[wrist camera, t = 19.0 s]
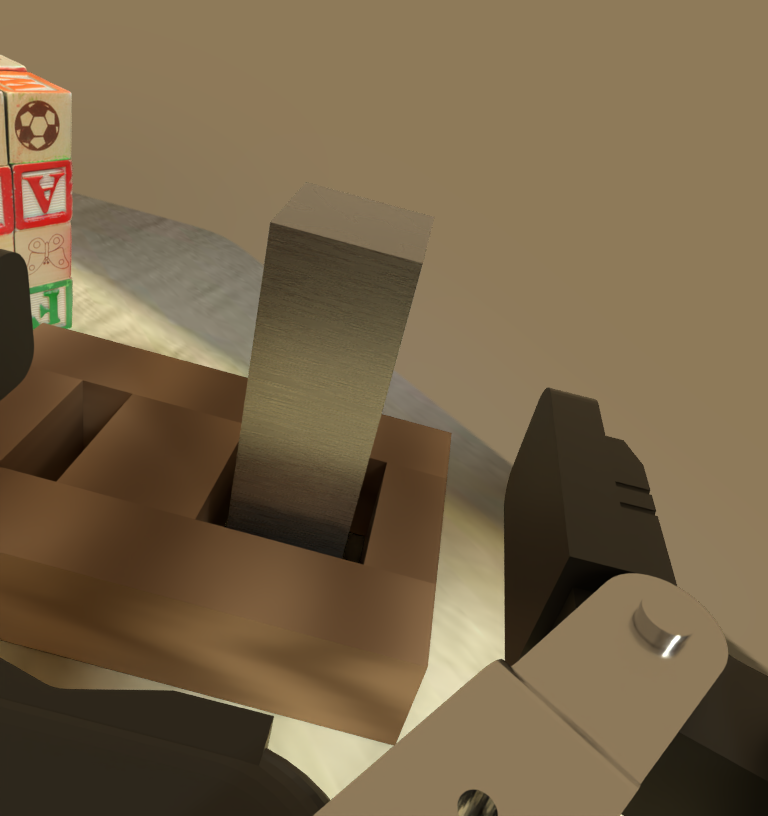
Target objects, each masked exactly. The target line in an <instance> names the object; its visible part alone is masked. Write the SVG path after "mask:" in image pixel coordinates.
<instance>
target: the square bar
mask: <svg viewBox="0 0 768 816" xmlns="http://www.w3.org/2000/svg"><path fill="white" fill-rule="evenodd" d="M433 220H434V217H432V216H428V215H425V214H421V213H417V212H414V211H410V210H406V209H403V208H399V207H395V206H392V205H388V204H384V203H381V202H377V201H374V200H369V199H366V198H362V197H359V196H355V195H351V194H348V193H344V192H340V191H337V190H333V189H329V188H326V187H322V186H318V185H315V184H311V183H307V182H306V183H305V184H304V185H303V186H302V187H301V188H300V190H299V191H298V192H297V193H296V194H295V195H294V196H293V197H292V198H291V200H290V201H289V202H288V203H287V204H286V205H285V206H284V208H283V209H282V210H281V211H280V212H279V213H278V214H277V215H276V216H275V217H274V219H273V220H272V221H271V222H270V228H269V235H268V242H267V249H266V256H265V263H264V270H263V277H262V284H261V291H260V298H259V305H258V312H257V319H256V326H255V333H254V340H253V347H252V354H251V361H250V368H249V375H248V382H247V389H246V396H245V403H244V410H243V417H242V424H241V431H240V438H239V445H238V452H237V459H236V466H235V473H234V480H233V487H232V494H231V501H230V508H229V515H228V522H227V528H229V529H233V530H237V531H240V532H244V533H248V534H251V535H255V536H259V537H263V538H266V539H270V540H274V541H277V542H281V543H285V544H289V545H292V546H296V547H300V548H303V549H307V550H311V551H314V552H318V553H322V554H326V555H329V556H333V557H337V558H340V559H342V556H343V552H344V549H345V545H346V541H347V538H348V534H349V531H350V527H351V523H352V520H353V516H354V512H355V509H356V505H357V501H358V498H359V494H360V490H361V487H362V483H363V479H364V476H365V472H366V469H367V465H368V461H369V458H370V454H371V450H372V447H373V443H374V439H375V436H376V432H377V428H378V425H379V421H380V418H381V414H382V410H383V407H384V403H385V399H386V396H387V392H388V388H389V385H390V381H391V377H392V374H393V370H394V366H395V363H396V359H397V355H398V352H399V348H400V345H401V341H402V337H403V334H404V330H405V326H406V323H407V319H408V315H409V312H410V308H411V304H412V301H413V297H414V293H415V290H416V286H417V282H418V279H419V275H420V272H421V268H422V264H423V260H424V256H425V252H426V248H427V244H428V240H429V236H430V232H431V228H432V224H433Z"/></svg>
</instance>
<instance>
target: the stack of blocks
mask: <svg viewBox="0 0 768 816" xmlns="http://www.w3.org/2000/svg"><path fill="white" fill-rule="evenodd" d="M71 113H72V96H71V92H70V91H68V90H65V89H63V88H61V87H59V86H57V85H55V84H53V83H51V82H48V81H46V80H44V79H43V78H40V77H38V76H36V75H34V74H32V73H29V72H27V70H26V68H25V66H23V65H21V64H19V63H17V62H15V61H12V60H10V59H8V58H6V57H4V56H2V55H0V249H4V250H8V251H12V252H16V253H18V254H20V255H21V256H22V257H23V259H24V260H25V262H26V265H27V268H28V276H29V288H30V300H31V312H32V324H33V330H34V329H35V328H36V327H38V326H39V325H40V324H42V323H46V324H50V325H54V326H57V327H61V328H65V329H68V328H71V327H72V302H73V291H72V285H73V281H72V278H71V277H70V275H71V223H70V221H71V219H72V213H73V210H72V203H73V199H72V185H73V182H72V161H71V129H72V128H71V127H72V126H71V124H72V122H71V121H72V118H71V117H72V114H71Z"/></svg>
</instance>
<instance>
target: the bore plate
mask: <svg viewBox="0 0 768 816" xmlns="http://www.w3.org/2000/svg"><path fill="white" fill-rule="evenodd" d="M33 336H34V355H33V360H32V363H31V366H30V369H29V371H28V373H27V375H26V376H25V378H24V379H23V381H22V382H21V383H20V384H19V385H18V386H17V387H16V388H15V389H13V390H12V391H11V392H10V393H9V394H8V395H7V396H5V397H4V398H3V399H2V400H1V401H0V640H3V641H7V642H11V643H14V644H18V645H22V646H26V647H29V648H33V649H37V650H41V651H44V652H48V653H52V654H55V655H59V656H63V657H67V658H70V659H74V660H78V661H82V662H85V663H89V664H93V665H96V666H100V667H104V668H108V669H111V670H115V671H119V672H123V673H126V674H130V675H134V676H137V677H141V678H145V679H149V680H152V681H156V682H160V683H164V684H167V685H171V686H175V687H178V688H182V689H186V690H190V691H193V692H197V693H201V694H205V695H208V696H212V697H216V698H220V699H223V700H227V701H231V702H234V703H238V704H242V705H246V706H249V707H253V708H257V709H261V710H264V711H268V712H272V713H275V714H279V715H283V716H287V717H290V718H294V719H298V720H302V721H305V722H309V723H313V724H316V725H320V726H324V727H328V728H331V729H335V730H339V731H343V732H346V733H350V734H354V735H357V736H361V737H365V738H369V739H372V740H376V741H380V742H384V743H387V744H391V745H395V744H396V742H397V739H398V737H399V735H400V732H401V730H402V727H403V725H404V723H405V720H406V718H407V715H408V713H409V711H410V708H411V706H412V703H413V701H414V699H415V696H416V694H417V691H418V689H419V687H420V684H421V682H422V679H423V677H424V675H425V672H426V670H427V667H428V658H429V649H430V639H431V629H432V619H433V609H434V600H435V590H436V580H437V570H438V560H439V551H440V541H441V531H442V521H443V511H444V502H445V492H446V482H447V472H448V462H449V453H450V443H451V433H449V432H446V431H442V430H438V429H434V428H431V427H427V426H423V425H420V424H416V423H412V422H409V421H405V420H401V419H397V418H394V417H390V416H386V415H383V414H381V418H380V421H379V425H378V428H377V432H376V436H375V439H374V443H373V447H372V450H371V454H370V458H369V461H368V465H367V469H366V472H365V476H364V479H363V483H362V487H361V490H360V494H359V498H358V501H357V505H356V509H355V512H354V516H353V520H352V523H351V527H350V531H349V532H352V533H356V534H359V535H363V536H366V537H365V541H364V545H363V549H362V554H361V558H360V562H359V563H355V562H352V561H348V560H344V559H340V558H337V557H333V556H329V555H326V554H322V553H318V552H314V551H311V550H307V549H303V548H300V547H296V546H292V545H289V544H285V543H281V542H277V541H274V540H270V539H266V538H263V537H259V536H255V535H251V534H248V533H244V532H240V531H237V530H233V529H229V528H225V527H224V525H225V523H226V521H227V519H228V515H229V508H230V501H231V494H232V487H233V480H234V473H235V466H236V459H237V452H238V445H239V438H240V431H241V424H242V417H243V410H244V403H245V396H246V389H247V382H248V378H246V377H242V376H238V375H235V374H231V373H227V372H224V371H220V370H216V369H213V368H209V367H205V366H202V365H198V364H194V363H190V362H187V361H183V360H179V359H176V358H172V357H168V356H165V355H161V354H157V353H153V352H150V351H146V350H142V349H139V348H135V347H131V346H128V345H124V344H120V343H116V342H113V341H109V340H105V339H102V338H98V337H94V336H91V335H87V334H83V333H80V332H76V331H72V330H68V329H65V328H61V327H57V326H54V325H50V324H46V323H42V324H40V325H39V326H38V327H36V328H35V329H34V330H33Z"/></svg>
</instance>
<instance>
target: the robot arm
mask: <svg viewBox="0 0 768 816" xmlns="http://www.w3.org/2000/svg"><path fill="white" fill-rule="evenodd" d="M33 355H34V336H33V324H32V312H31V300H30V288H29V276H28V268H27V265H26V262H25V260H24V259H23V257H22V256H21V255H20V254H18V253H16V252H12V251H8V250H4V249H0V401H1V400H2V399H3V398H4V397H5V396H7V395H8V394H9V393H10V392H11V391H12V390H13V389H15V388H16V387H17V386H18V385H19V384H20V383H21V382H22V381H23V379H24V378H25V376H26V375H27V373H28V371H29V369H30V366H31V363H32V360H33ZM649 492H650V488H649V484H648V481H647V477H646V474H645V470H644V466H643V464H642V463H641V462H640V461H639V459H638V458H637V457H636V455H634V453H633V452H632V451H631V449H630V448H629V447H628V445H627V444H626V443H625V442H624V440H619V439H616V438H612V437H608V436H605V432H604V427H603V423H602V419H601V414H600V409H599V405H598V402H597V400H595V399H592V398H588V397H583V396H580V395H575V394H572V393H568V392H563V391H560V390H555V389H552V388H546V389H545V390H544V392H543V393H542V395H541V397H540V399H539V401H538V404H537V406H536V409H535V412H534V414H533V417H532V419H531V422H530V424H529V427H528V430H527V432H526V434H525V437H524V439H523V442H522V444H521V447H520V450H519V452H518V455H517V457H516V460H515V462H514V465H513V467H512V470H511V473H510V477H509V480H508V484H507V489H506V495H505V502H504V575H505V661H504V660H503V659H499V660H496V661H494V662H492V663H491V664H489V665H488V666H486V667H485V668H484V669H483V670H481V671H480V672H479V673H478V674H477V675H476V676H474V677H473V678H472V679H471V680H470V681H469V682H467V683H466V684H465V685H464V686H463V687H462V688H460V689H459V690H458V691H457V692H456V693H455V694H454V695H452V696H451V697H450V698H449V699H448V700H447V701H445V702H444V703H443V704H442V705H441V706H440V707H438V708H437V709H436V710H435V711H434V712H433V713H431V714H430V715H429V716H428V717H427V718H426V719H425V720H423V721H422V722H421V723H420V724H419V725H418V726H416V727H415V728H414V729H413V730H412V731H411V732H409V733H408V734H407V735H406V736H405V737H404V738H402V739H401V740H400V741H399V742H398V743H397V744H396V745H394V746H393V747H392V748H391V749H390V750H389V751H387V752H386V753H385V754H384V755H383V756H382V757H380V758H379V759H378V760H377V761H376V762H375V763H373V764H372V765H371V766H370V767H369V768H368V769H367V770H365V771H364V772H363V773H362V774H361V775H360V776H358V777H357V778H356V779H355V780H354V781H353V782H351V783H350V784H349V785H348V786H347V787H346V788H344V789H343V790H342V791H341V792H340V793H339V794H338V795H336V796H335V797H334V798H333V799H332V800H330V799H329V798H328V796H327V795H326V794H325V793H324V792H323V791H322V790H321V789H320V788H319V787H318V786H317V785H316V784H315V783H314V782H313V781H312V780H311V779H310V778H309V777H308V776H307V775H306V774H304V773H303V772H302V771H301V770H299V769H298V768H297V767H295V766H294V765H293V764H291V763H290V762H289V761H287V760H286V759H284V758H283V757H281V756H279V755H278V754H276V753H274V752H272V751H271V750H269V749H267V748H268V743H269V738H270V733H271V728H272V723H273V718H274V716H271V715H267V714H263V713H259V712H255V711H252V710H248V709H244V708H240V707H236V706H232V705H228V704H224V703H220V702H216V701H212V700H208V699H204V698H200V697H197V696H193V695H189V694H185V693H181V692H177V691H164V690H89V689H59V688H55V687H51V686H49V685H47V684H45V683H43V682H41V681H40V680H38V679H36V678H35V677H33V676H31V675H29V674H28V673H26V672H24V671H22V670H21V669H19V668H17V667H16V666H14V665H12V664H10V663H9V662H7V661H5V660H3V659H2V658H0V816H620V815H621V814H622V815H624V816H768V676H766V675H764V674H762V673H760V672H758V671H756V670H754V669H753V668H751V667H749V666H747V665H745V664H743V663H741V662H740V661H738V660H736V659H735V658H733V657H732V656H730V655H729V654H728V646H727V642H726V639H725V636H724V634H723V632H722V630H721V628H720V626H719V625H718V623H717V622H716V620H715V619H714V617H713V616H712V615H711V614H710V613H709V611H708V610H707V609H706V608H704V606H703V605H702V604H701V603H700V602H699V601H697V600H696V599H695V598H693V597H692V596H691V595H690V594H688V593H686V592H685V591H684V590H682V589H681V588H679V587H677V584H676V580H675V577H674V573H673V570H672V566H671V562H670V559H669V555H668V552H667V548H666V545H665V541H664V538H663V534H662V531H661V527H660V523H659V520H658V516H655V512H656V509H655V505H654V502H653V498H652V495H649Z"/></svg>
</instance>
